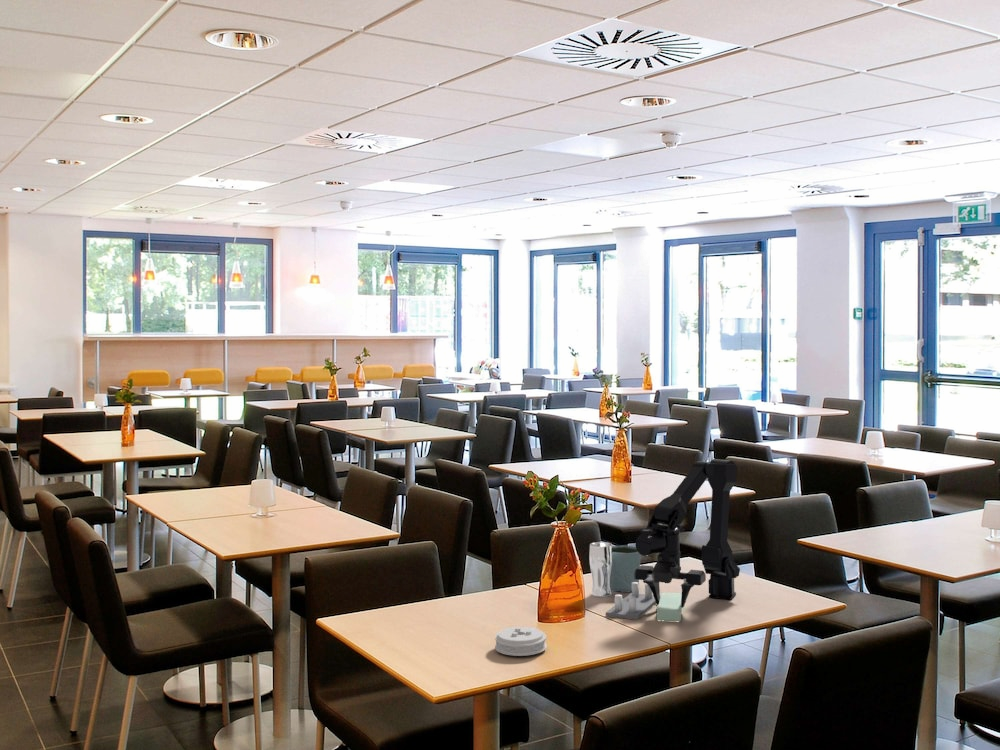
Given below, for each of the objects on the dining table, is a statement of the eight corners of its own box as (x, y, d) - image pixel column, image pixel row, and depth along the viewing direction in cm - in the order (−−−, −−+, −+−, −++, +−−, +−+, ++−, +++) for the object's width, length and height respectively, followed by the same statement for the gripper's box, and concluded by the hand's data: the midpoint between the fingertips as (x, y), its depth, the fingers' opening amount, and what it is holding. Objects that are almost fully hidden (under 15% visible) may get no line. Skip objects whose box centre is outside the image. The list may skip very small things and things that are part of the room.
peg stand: (660, 599, 267) (660, 582, 267) (637, 619, 248) (636, 601, 248) (631, 596, 271) (630, 579, 271) (605, 616, 252) (605, 597, 252)
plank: (683, 603, 263) (682, 593, 263) (680, 623, 245) (679, 611, 245) (661, 602, 264) (661, 592, 264) (657, 622, 247) (657, 610, 246)
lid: (553, 655, 222) (553, 635, 222) (503, 662, 219) (503, 641, 219) (537, 640, 235) (536, 620, 234) (489, 646, 231) (488, 626, 231)
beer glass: (615, 597, 270) (613, 546, 269) (591, 598, 270) (589, 547, 269) (612, 591, 277) (611, 541, 276) (589, 591, 277) (588, 542, 276)
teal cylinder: (605, 584, 284) (604, 546, 284) (637, 583, 285) (636, 544, 285) (612, 593, 274) (611, 553, 274) (645, 591, 275) (645, 551, 275)
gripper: (627, 553, 251) (628, 610, 252) (694, 559, 243) (695, 617, 243) (640, 544, 261) (641, 599, 262) (705, 550, 252) (706, 606, 253)
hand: (670, 606), depth 255 cm, fingers closed on plank, 7 cm apart
